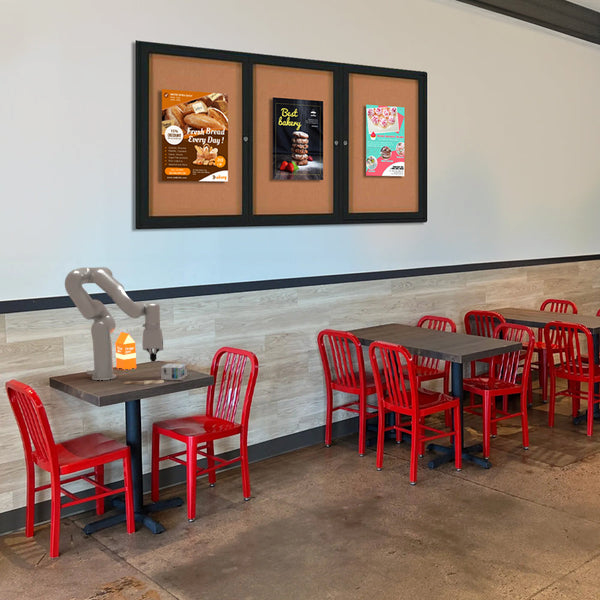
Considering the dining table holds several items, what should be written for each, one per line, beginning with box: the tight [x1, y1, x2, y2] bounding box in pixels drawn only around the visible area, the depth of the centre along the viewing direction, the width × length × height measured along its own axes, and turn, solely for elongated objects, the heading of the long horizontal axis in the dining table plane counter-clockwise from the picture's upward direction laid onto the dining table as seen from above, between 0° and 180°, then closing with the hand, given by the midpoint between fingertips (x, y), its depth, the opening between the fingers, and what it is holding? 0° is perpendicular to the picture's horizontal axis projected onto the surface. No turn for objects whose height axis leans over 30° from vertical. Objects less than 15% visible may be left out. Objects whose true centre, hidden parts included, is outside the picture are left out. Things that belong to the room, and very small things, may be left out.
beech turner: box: [123, 379, 165, 386], centre depth 386 cm, size 20×6×1 cm, turn 102°
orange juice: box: [115, 331, 137, 371], centre depth 422 cm, size 8×9×20 cm
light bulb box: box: [160, 363, 188, 380], centre depth 395 cm, size 11×7×11 cm
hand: (153, 361), depth 396 cm, fingers closed
